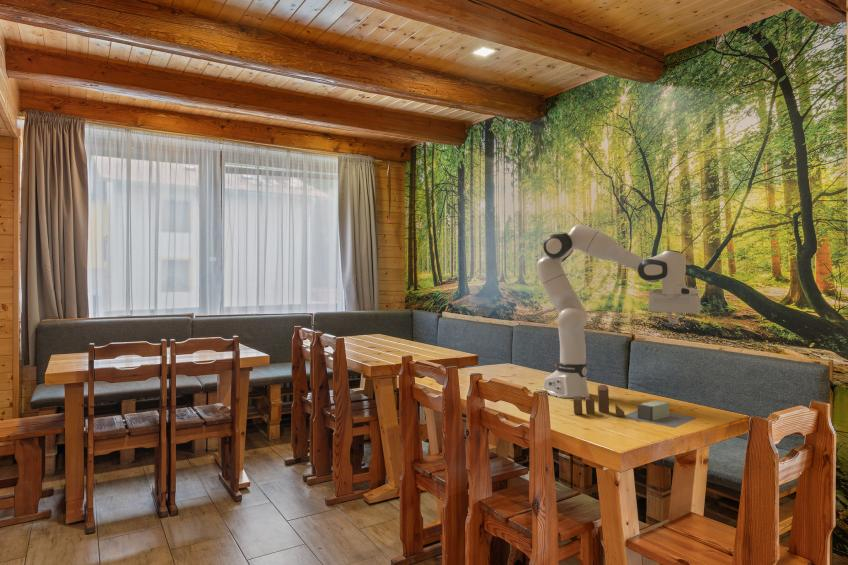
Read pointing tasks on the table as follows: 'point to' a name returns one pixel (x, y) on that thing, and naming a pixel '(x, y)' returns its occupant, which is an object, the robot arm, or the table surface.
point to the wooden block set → (602, 403)
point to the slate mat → (663, 419)
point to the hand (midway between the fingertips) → (673, 323)
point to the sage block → (653, 410)
